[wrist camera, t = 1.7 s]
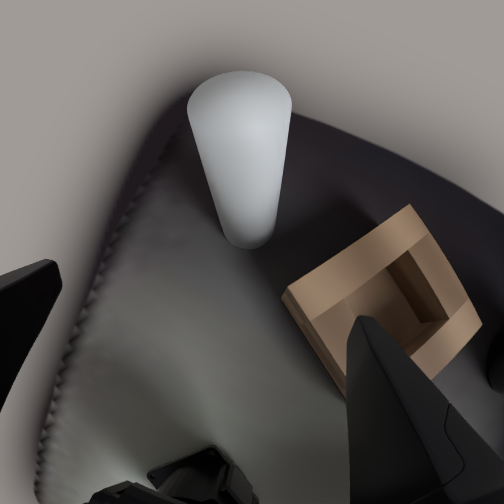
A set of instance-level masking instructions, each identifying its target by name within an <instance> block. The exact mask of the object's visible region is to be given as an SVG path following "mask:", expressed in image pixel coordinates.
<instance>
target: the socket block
mask: <svg viewBox="0 0 504 504" xmlns="http://www.w3.org/2000/svg"><path fill="white" fill-rule="evenodd" d="M281 299H282V301H283V302H284V304H285V306H286V307H287V309H288V310H289V312H290V313H291V315H292V316H293V318H294V319H295V321H296V323H297V324H298V326H299V327H300V329H301V330H302V332H303V333H304V335H305V337H306V338H307V340H308V341H309V343H310V344H311V346H312V347H313V349H314V350H315V352H316V354H317V355H318V357H319V358H320V360H321V361H322V363H323V364H324V366H325V367H326V369H327V371H328V372H329V374H330V375H331V377H332V378H333V380H334V381H335V383H336V384H337V386H338V388H339V389H340V391H341V392H342V394H343V395H344V397H345V398H346V349H347V339H348V336H349V333H350V331H351V329H352V326H353V324H354V321H355V319H356V317H357V316H359V315H365V316H372V317H373V318H374V319H375V320H376V321H377V322H378V323H379V324H380V325H381V326H382V327H383V328H384V329H385V330H386V331H387V333H388V334H389V335H390V336H391V337H392V338H393V339H394V340H395V341H396V342H397V343H398V344H399V346H400V347H401V348H402V349H403V350H404V351H405V352H406V353H407V354H408V355H409V357H410V358H411V359H412V360H413V361H414V362H415V363H416V364H417V365H418V366H419V368H420V369H421V370H422V371H423V372H424V373H425V374H426V375H427V377H428V378H429V379H430V380H432V379H433V378H434V377H435V376H436V375H437V374H438V373H439V372H440V371H441V370H442V369H443V368H444V367H445V366H446V365H447V364H448V363H449V362H450V361H451V360H452V359H453V357H454V356H455V355H456V354H457V353H458V352H459V351H460V350H461V349H462V348H463V347H464V346H465V344H466V343H467V342H468V341H469V340H470V339H471V338H472V337H473V335H474V334H475V333H476V332H477V331H478V329H479V328H480V327H481V326H482V322H481V320H480V318H479V316H478V314H477V312H476V310H475V308H474V306H473V304H472V303H471V301H470V299H469V297H468V295H467V293H466V291H465V290H464V288H463V286H462V284H461V282H460V281H459V279H458V277H457V275H456V274H455V272H454V270H453V269H452V267H451V265H450V264H449V262H448V260H447V259H446V257H445V255H444V254H443V252H442V251H441V249H440V247H439V246H438V244H437V243H436V241H435V240H434V238H433V237H432V235H431V234H430V232H429V231H428V229H427V228H426V226H425V225H424V223H423V222H422V220H421V219H420V218H419V216H418V215H417V213H416V212H415V211H414V209H413V208H412V206H411V205H410V204H409V205H407V206H406V207H405V208H403V209H402V210H400V211H399V212H398V213H396V214H395V215H393V216H392V217H391V218H389V219H388V220H386V221H385V222H383V223H382V224H381V225H379V226H378V227H376V228H375V229H373V230H372V231H371V232H369V233H368V234H366V235H365V236H363V237H362V238H360V239H359V240H358V241H356V242H355V243H353V244H352V245H350V246H349V247H347V248H346V249H344V250H343V251H341V252H340V253H338V254H337V255H335V256H334V257H332V258H331V259H329V260H328V261H326V262H325V263H323V264H322V265H320V266H319V267H317V268H316V269H314V270H313V271H311V272H310V273H308V274H306V275H305V276H303V277H302V278H300V279H299V280H297V281H296V282H294V283H292V284H291V285H289V286H288V287H287V288H286V290H285V292H284V294H283V295H282V297H281Z"/></svg>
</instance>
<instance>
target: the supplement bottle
mask: <svg viewBox="0 0 504 504" xmlns="http://www.w3.org/2000/svg"><path fill="white" fill-rule="evenodd" d="M488 376H489V380H490V383H491V385H492V387H493V388H494V390H495V391H497V392H498V393H501V394H504V329H503V330H502V331H501V332H500V333H499V334H498V336H497V337H496V339H495V341H494V343H493V345H492V348H491V351H490V355H489V360H488Z"/></svg>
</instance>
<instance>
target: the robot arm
mask: <svg viewBox="0 0 504 504" xmlns="http://www.w3.org/2000/svg"><path fill="white" fill-rule="evenodd" d="M61 289H62V279H61V276H60V272H59V268H58V265H57V263H56V262H55V261H53V260H49V259H44V260H41V261H39V262H36V263H33V264H30V265H28V266H25V267H22V268H19V269H17V270H14V271H11V272H9V273H6V274H4V275H1V276H0V412H1V409H2V407H3V405H4V403H5V400H6V398H7V396H8V394H9V392H10V389H11V387H12V385H13V383H14V381H15V379H16V377H17V375H18V373H19V371H20V369H21V367H22V365H23V363H24V361H25V359H26V357H27V355H28V353H29V351H30V349H31V348H32V346H33V344H34V342H35V340H36V338H37V337H38V335H39V333H40V332H41V330H42V328H43V326H44V324H45V322H46V320H47V318H48V316H49V314H50V311H51V310H52V308H53V306H54V303H55V302H56V299H57V298H58V296H59V294H60V292H61ZM346 408H347V422H348V439H349V464H350V504H504V460H503V459H502V458H501V457H500V456H499V455H498V454H497V453H496V452H495V450H494V449H493V448H492V447H491V446H490V445H489V444H488V443H487V442H486V441H485V440H484V439H483V438H482V437H481V436H480V435H479V434H478V433H477V432H476V431H475V430H474V429H473V428H472V427H471V426H470V425H469V424H468V422H467V421H466V420H465V419H464V418H463V417H462V416H461V415H460V413H459V412H458V411H457V410H456V409H455V408H454V406H453V405H452V404H451V403H449V401H448V399H447V398H446V397H445V396H444V395H443V394H442V393H441V391H440V390H439V389H438V388H437V387H436V386H435V385H434V383H433V382H432V381H431V380H430V379H429V378H428V377H427V375H426V374H425V373H424V372H423V371H422V370H421V369H420V368H419V366H418V365H417V364H416V363H415V362H414V361H413V360H412V359H411V358H410V357H409V355H408V354H407V353H406V352H405V351H404V350H403V349H402V348H401V347H400V346H399V344H398V343H397V342H396V341H395V340H394V339H393V338H392V337H391V336H390V335H389V334H388V333H387V331H386V330H385V329H384V328H383V327H382V326H381V325H380V324H379V323H378V322H377V321H376V320H375V319H374V318H373V317H372V316H365V315H359V316H357V317H356V319H355V321H354V324H353V326H352V329H351V331H350V333H349V336H348V339H347V349H346ZM209 450H213V451H215V454H211V453H210V452H209ZM151 474H153V475H155V476H156V477H153V476H152V475H151ZM147 478H148V479H149V481H150V482H151V483H152V484H153V486H154V487H155V488H156V490H157V491H155V490H152V489H150V488H148V487H145V486H143V485H141V484H139V483H137V482H135V483H132V482H130V481H128V480H127V481H124V482H122V483H119V484H116V485H113V486H110V487H107V488H105V489H102V490H101V491H99V492H96V493H94V494H93V496H92V497H91V499H90V501H89V502H87V503H83V504H259V499H258V498H257V497H256V496H255V494H254V493H253V492H252V488H253V487H252V485H251V484H250V483H249V482H248V481H247V479H246V478H245V477H244V476H243V474H242V473H241V472H240V471H239V469H238V468H237V467H236V466H235V465H234V464H229V462H228V461H227V460H226V458H225V457H224V456H223V454H222V453H221V452H220V450H219V449H218V448H217V447H216V446H213V445H210V446H207V447H205V448H203V449H201V450H199V451H196V452H194V453H192V454H190V455H187V456H185V457H183V458H180V459H178V460H175V461H173V462H170V463H168V464H165V465H163V466H160V467H157V468H155V469H152V470H150V471H149V472H148V473H147ZM252 501H254V502H255V503H252Z"/></svg>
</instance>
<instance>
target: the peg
mask: <svg viewBox="0 0 504 504" xmlns="http://www.w3.org/2000/svg"><path fill="white" fill-rule="evenodd" d="M291 107H292V104H291V98H290V95H289V93H288V92H287V90H286V88H284V86H283V85H282V84H281V83H279V82H278V81H277V80H275V79H273V78H271V77H269V76H267V75H264V74H261V73H257V72H250V71H235V72H228V73H224V74H220V75H217V76H215V77H213V78H211V79H209V80H207V81H205V82H204V83H202V84H201V85H200V86H199V87H198V88H197V89H196V90H195V91H194V92H193V94H192V95H191V97H190V100H189V102H188V107H187V112H188V117H189V121H190V124H191V127H192V131H193V134H194V138H195V141H196V144H197V148H198V151H199V154H200V158H201V161H202V164H203V168H204V171H205V174H206V178H207V181H208V184H209V188H210V191H211V194H212V197H213V201H214V204H215V207H216V210H217V213H218V217H219V220H220V223H221V226H222V229H223V232H224V235H225V237H226V238H227V240H228V241H229V242H230V243H231V244H232V245H234V246H236V247H238V248H241V249H256V248H259V247H261V246H263V245H264V244H266V243H267V242H268V241H269V240H270V238H271V237H272V235H273V233H274V229H275V222H276V215H277V208H278V202H279V195H280V188H281V181H282V174H283V167H284V159H285V152H286V145H287V138H288V130H289V123H290V115H291Z"/></svg>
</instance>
